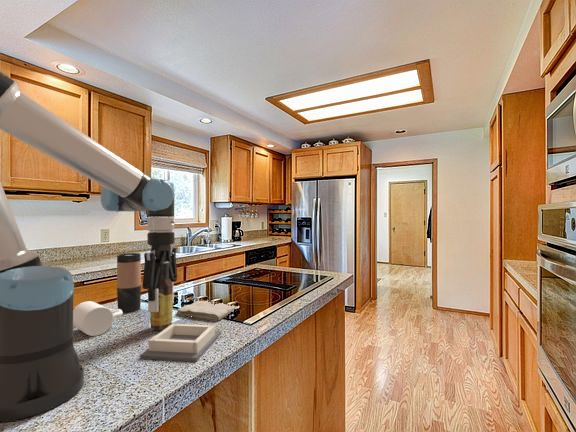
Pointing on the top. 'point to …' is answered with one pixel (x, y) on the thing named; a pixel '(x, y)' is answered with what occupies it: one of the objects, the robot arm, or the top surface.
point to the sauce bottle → (163, 301)
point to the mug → (94, 318)
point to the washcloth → (206, 310)
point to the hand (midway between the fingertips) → (161, 307)
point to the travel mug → (129, 282)
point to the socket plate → (181, 342)
